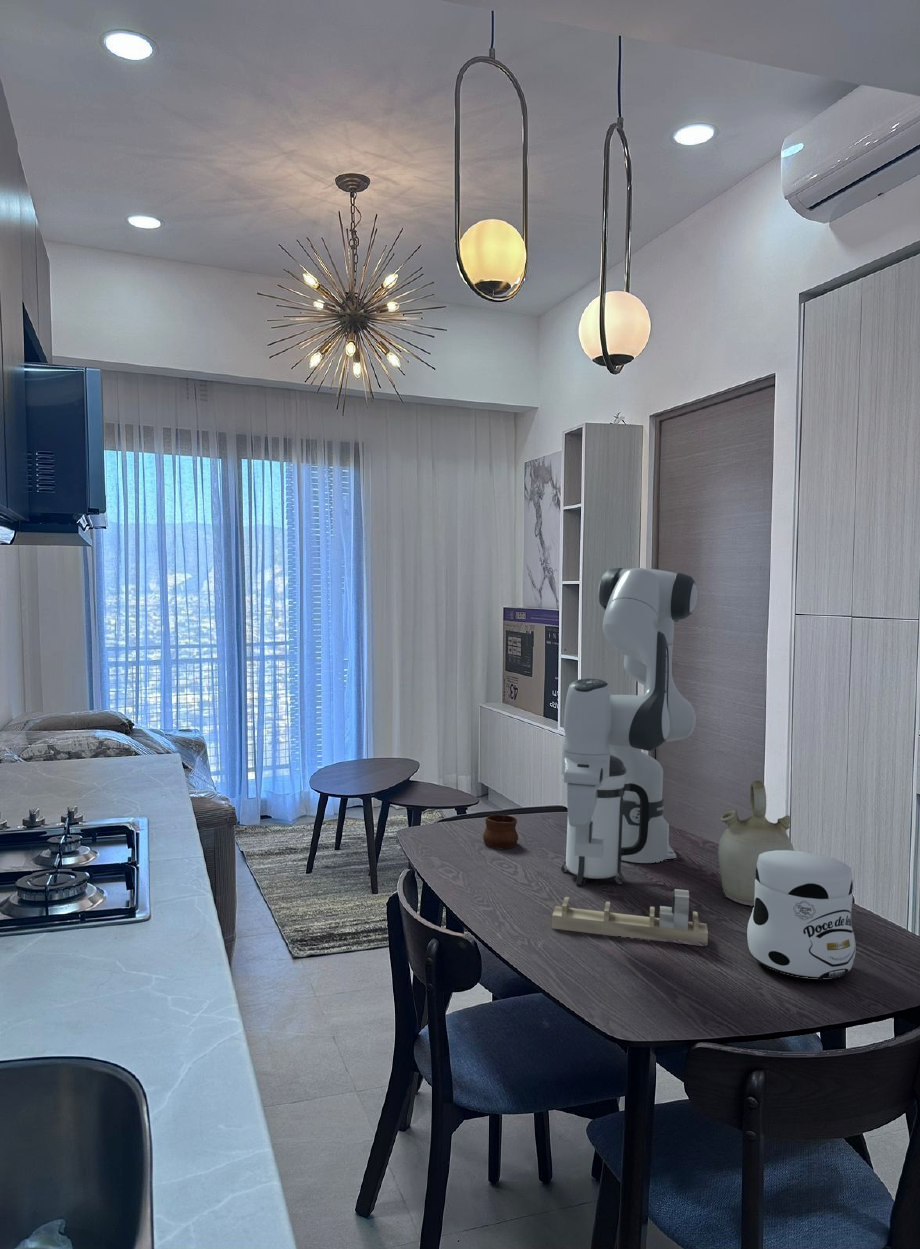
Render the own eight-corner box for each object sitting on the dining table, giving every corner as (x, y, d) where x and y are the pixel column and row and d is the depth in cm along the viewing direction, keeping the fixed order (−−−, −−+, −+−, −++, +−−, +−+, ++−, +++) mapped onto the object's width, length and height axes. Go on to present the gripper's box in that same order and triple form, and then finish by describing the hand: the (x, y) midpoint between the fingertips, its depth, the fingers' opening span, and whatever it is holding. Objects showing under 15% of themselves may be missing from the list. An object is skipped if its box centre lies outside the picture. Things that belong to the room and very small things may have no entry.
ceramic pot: (457, 835, 223) (459, 808, 223) (523, 834, 227) (524, 808, 227) (474, 858, 206) (476, 828, 205) (545, 856, 210) (547, 828, 209)
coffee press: (611, 895, 182) (617, 752, 181) (546, 877, 191) (551, 742, 190) (647, 875, 195) (653, 743, 194) (584, 860, 205) (589, 734, 204)
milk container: (848, 999, 137) (854, 886, 137) (736, 972, 146) (741, 866, 145) (858, 961, 152) (863, 859, 152) (756, 938, 161) (760, 842, 160)
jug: (709, 902, 180) (714, 782, 179) (723, 881, 193) (729, 770, 193) (787, 917, 173) (793, 792, 172) (796, 894, 186) (802, 779, 185)
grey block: (576, 849, 165) (577, 818, 165) (603, 852, 164) (604, 820, 164) (574, 855, 161) (575, 823, 161) (601, 858, 160) (602, 825, 160)
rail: (555, 918, 167) (556, 875, 167) (705, 936, 161) (708, 891, 160) (551, 928, 162) (553, 883, 162) (707, 947, 156) (709, 900, 156)
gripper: (574, 755, 173) (571, 824, 174) (562, 775, 153) (559, 852, 154) (606, 757, 172) (603, 827, 172) (598, 778, 152) (595, 856, 152)
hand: (582, 839), depth 163 cm, fingers closed on grey block, 4 cm apart
